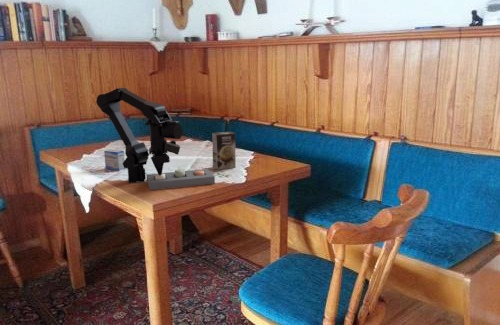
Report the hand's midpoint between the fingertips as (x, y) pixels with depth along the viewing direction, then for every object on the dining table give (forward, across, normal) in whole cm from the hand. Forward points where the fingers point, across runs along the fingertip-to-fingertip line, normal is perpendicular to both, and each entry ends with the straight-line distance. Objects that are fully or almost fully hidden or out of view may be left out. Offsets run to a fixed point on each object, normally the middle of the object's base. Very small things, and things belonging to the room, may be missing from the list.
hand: (160, 175), depth 172 cm
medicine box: (+4, +31, +17) cm, 36 cm away
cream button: (+3, 0, 0) cm, 3 cm away
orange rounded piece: (+3, 0, -16) cm, 16 cm away
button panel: (+4, 0, -8) cm, 9 cm away
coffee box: (+4, +17, -31) cm, 36 cm away
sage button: (+2, 0, -8) cm, 8 cm away
